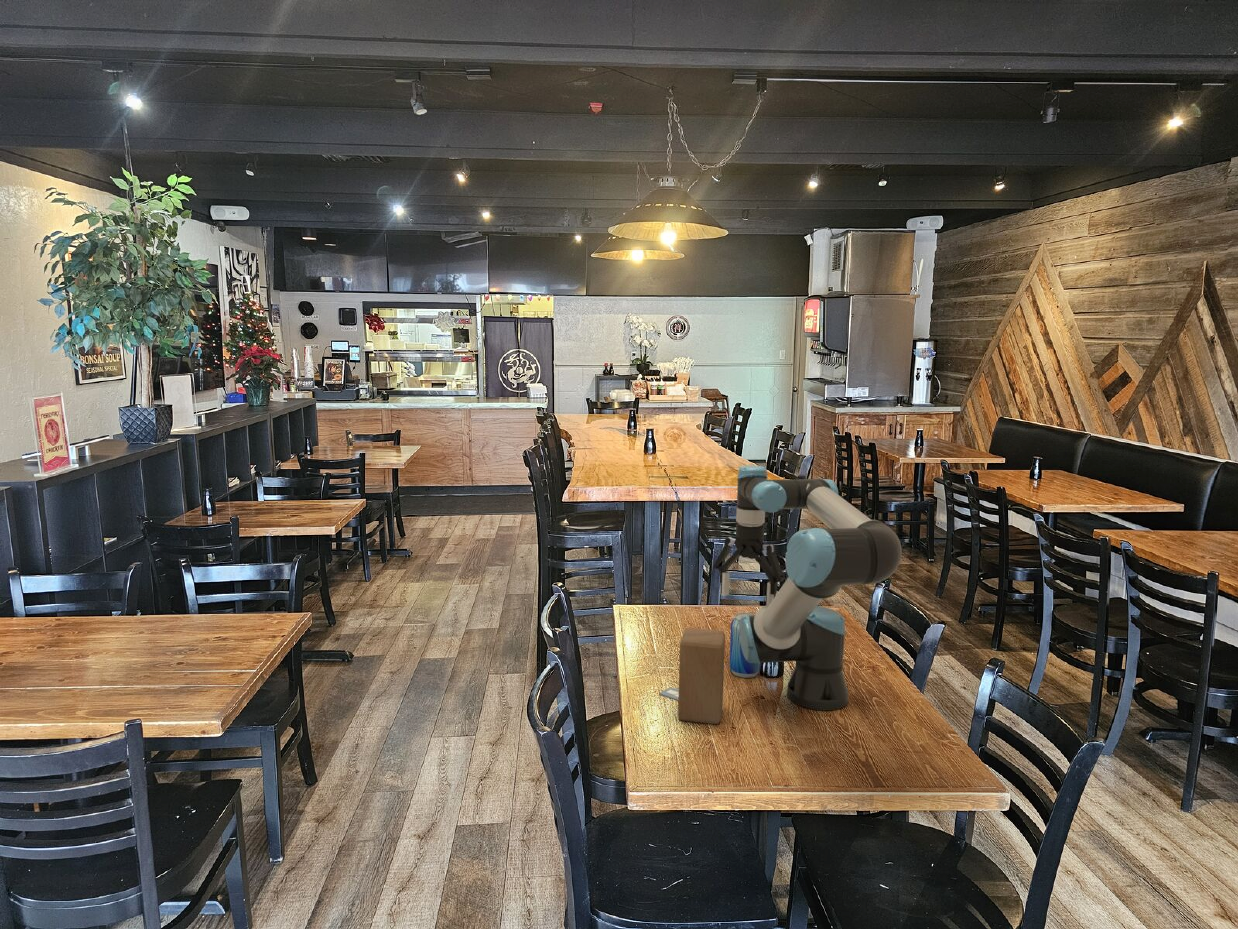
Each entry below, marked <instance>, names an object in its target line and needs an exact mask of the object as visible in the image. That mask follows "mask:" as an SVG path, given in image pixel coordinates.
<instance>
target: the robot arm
mask: <svg viewBox="0 0 1238 929" xmlns="http://www.w3.org/2000/svg"><path fill="white" fill-rule="evenodd" d="M767 471H768V470H767V468H766V467H764V466H763V465H752V464H751V465H742V466H740V467H739V468H738V471H737V472H738V473H737V478H736V481H737V487H736V488H737V492H736V494H737V496H736V516H735V517H736V519H735V521H736V524H735V538H734V537H733V536H729V537H726V538H725V540H724V545H723V547H722V549H721V552H720V553H719V554H718V557H717V559H716V561H715V562H714V564H713V568H714V569H715V570H718V571H719V583H720V584H721V596H722V597H726V596H728V595H729V594H730V578H731V577H730V576H731V574H730V573H731V572H730V570H729V569H730V568H731V566H732V565H733V564H734V563H735V562H736V561H737V560H738V559H740V557H742V558H748V559H750V560H753V559H754V560H755V562H757V563H758V565H759V567H760V568H761V570H762V571H763V572H764V574H765V576H766V578H767V579H768V580H769V581H767V584H766V585H767V586H766V603H765V604H766V605H764V606H762V607H760V608H759V609H758V610H757V612H756V613H754V614H755V615H746V616H743V617H741V619H740V623H739V635H740V643H741V648H742V652H743V655H744V657H745V659H746V660H747V661H748V662H749V663H759V664H761V665H762V664H763V663H764V664H765V663H766V664H767V663H783V662H795V665H794V669H793V670H792V673H791V675H790V678H789V681H788V683H787V688H786V696H787V698H788V699H789V700H790V701H791V702H792V703H794V704H796V705H798V706H800V707H803V708H805V709H806V708H807V709H809V710H815V711H816V710H817V711H835V710H841V709H842V708H844V707H846V706H847V705H848V703H849V691H848V687H847V682H846V679H845V676H844V672H843V668H844V667H843V666H844V653H845V652H844V651H845V635H846V634H847V632H846V622H845V621H846V620H845V618H844V617H843V615H842V614H841V613H839V612H838V611H836V610H834V609H831V608H827V607H825V606H820V605H819V604H820V603H821V602H822V600H826V599H829V598H832V597H833V596H835V595H836V594H837V593H838V592H839V591H840V590H841V589H842V587H844V586H851V585H852V586H853V585H854V586H856V585H858V586H859V585H872V584H878V583H881V582H883V581H885V580H887V579H889V578H890V576H892V575H893V574H894V573H895V571H897V570H898V567H899V566H900V563H901V560H902V556H903V554H902V552H903V550H902V544H901V541H900V538H899V537H898V535H897V534H896V533H895V531H894V530H893V529H892V528H890V527H889V526H888V525H886V524H885V523H884V522H882V521H880V520H877V519H871V518H870V517H868V516H867V515H866V514H865V513H863V512H861V511H860V510H859V509H858V508H856V507H855V506H854V505H852V504H851V503H850V502H848V501H847V500H846V499H844V498H843V497H842V496H841V495H839V489H838V486H837V484H836V481H834V480H832V479H829V478H828V479H826V478H810V479H809V478H807V479H806V478H805V479H803V478H802V479H796V478H795V479H768V472H767ZM781 510H807V511H809V512H810V513H811V514H812V515H814V516H815V517H816V518H817V519H819V521H821V523H823V524H824V526H826V527H827V528H821V527H820V528H819V527H813V528H812V527H810V528H807V529H802V530H799V531H797V532H794V534H793V535H792V536H791V537H790V539H789V540H788V544H787V546H786V550H787V551H786V552H785V556H784V561H785V563H784V564H785V570H786V573H787V575H788V576H787V578H786V577H785V575H784V572H783V568H782V567H781V565H780V561H779V559H778V556H777V554H776V546H775V545H776V544H774V543H770V544H765V543H764V540H765V539H764V538H765V528H766V527H765V525H764V523H765V522H766V519H765V518H766V513H772V514H773V513H777V512H779V511H781ZM733 546H735V548H736V550H735V551H734V552H733V553H732V555H731V556H730V557H729V558H728V559H727V560H726V558H727V557H728V556H729V553H730V551H731V549H732V547H733ZM763 551H764V552H765V554H766V555H765V554H764V552H763ZM766 556H767V558H766ZM767 559H768V560H767ZM725 560H726V561H725ZM785 579H786V580H785ZM784 580H785V581H784ZM782 581H784V583H783V584H782V586H781V588H780V589H778V583H781V582H782Z"/></svg>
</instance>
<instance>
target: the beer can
mask: <svg viewBox="0 0 1238 929" xmlns="http://www.w3.org/2000/svg"><path fill="white" fill-rule="evenodd" d="M755 614H756V613H751V612H739V613H736V614H734V618H733V620H732V621H731V623H730V637H729V638H730V640H729V642H730V643H729V670H731V673H732V674H733V675H734V676H735V677H738V678H739V677H740V678H745V679H749V678H754V677H757V675H758V674H759V673H760V671H761V665H762V663H761V664H759V663H749V662H748V661H747V660H746V659H745V657H744V655H743V652H742V648H741V643H740V635H739V623H740V619H741V617H743V616H746V615H755Z"/></svg>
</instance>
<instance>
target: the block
mask: <svg viewBox="0 0 1238 929" xmlns="http://www.w3.org/2000/svg"><path fill="white" fill-rule="evenodd" d="M725 634H726V633H725V632H724V631H723V630H719V629H718V630H714V629H703V628H695V627H694V628H690V627H687V628H685V629H684V631H683V634H682V636H681V640H680V641H679V660H678V661H679V662H678V664H679V666H678V690H679V697H678V701H677V702H678V704H677V717H678V720H680V721H685V722H693V723H695V722H696V723H704V724H712V725H713V724H714V725H717V724H719V723H720V722H721V718H722V711H723V705H724V702H723V701H724V700H723V699H724V679H725V678H724V676H725V650H726V648H725V647H726V635H725Z"/></svg>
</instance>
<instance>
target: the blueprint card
mask: <svg viewBox="0 0 1238 929" xmlns="http://www.w3.org/2000/svg"><path fill="white" fill-rule="evenodd" d="M658 694H659V696H662V697H664V698H669V699H670V698H671V699H670V700H673V699H674V701H676V700H677V702H678V697H679V688H675V687H671V686H669V687H668V688H666V689H664V690H662V691H660V692H659V693H658Z"/></svg>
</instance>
